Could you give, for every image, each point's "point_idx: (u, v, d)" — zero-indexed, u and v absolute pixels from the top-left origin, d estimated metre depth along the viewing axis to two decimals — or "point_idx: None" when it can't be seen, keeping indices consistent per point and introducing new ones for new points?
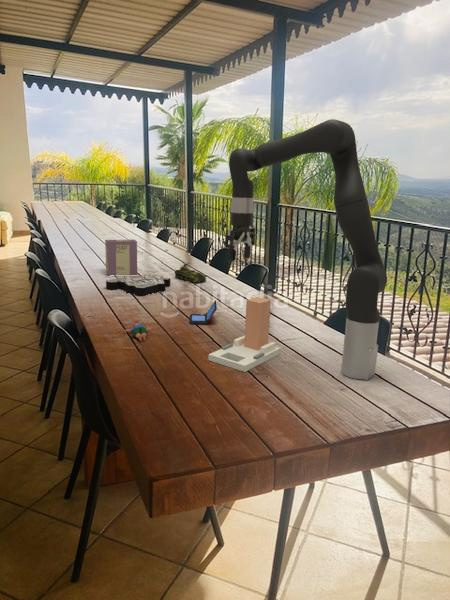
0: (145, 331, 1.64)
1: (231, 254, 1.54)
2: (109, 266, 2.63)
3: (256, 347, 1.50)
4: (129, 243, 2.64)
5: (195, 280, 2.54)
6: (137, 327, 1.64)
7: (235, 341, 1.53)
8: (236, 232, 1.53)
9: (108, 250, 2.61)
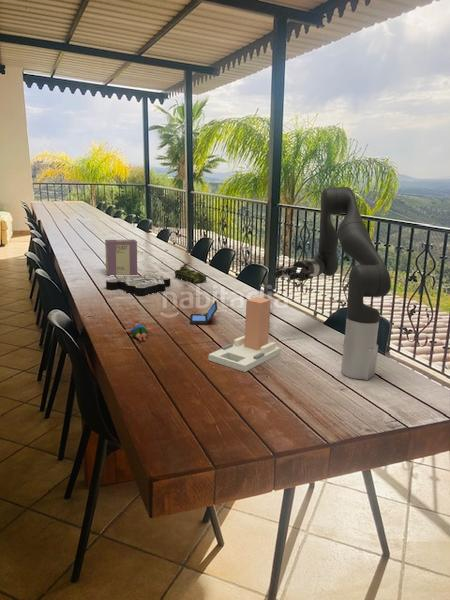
0: (145, 331, 1.64)
1: None
2: (109, 266, 2.63)
3: (256, 347, 1.50)
4: (129, 243, 2.64)
5: (195, 280, 2.55)
6: (137, 327, 1.64)
7: (235, 341, 1.53)
8: None
9: (108, 250, 2.61)
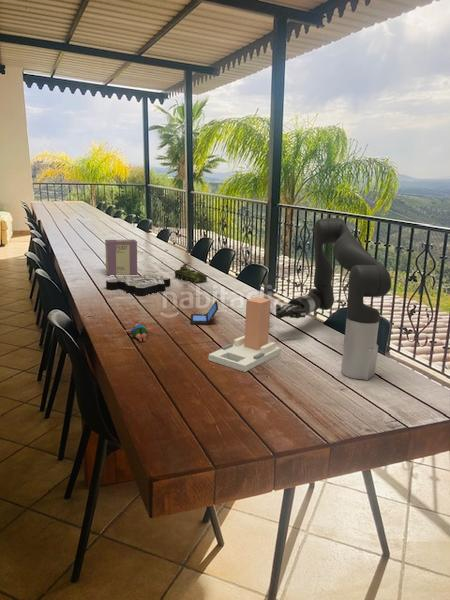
0: (145, 331, 1.64)
1: None
2: (109, 266, 2.63)
3: (256, 347, 1.50)
4: (129, 243, 2.64)
5: (196, 280, 2.55)
6: (137, 327, 1.64)
7: (235, 341, 1.53)
8: None
9: (108, 250, 2.61)
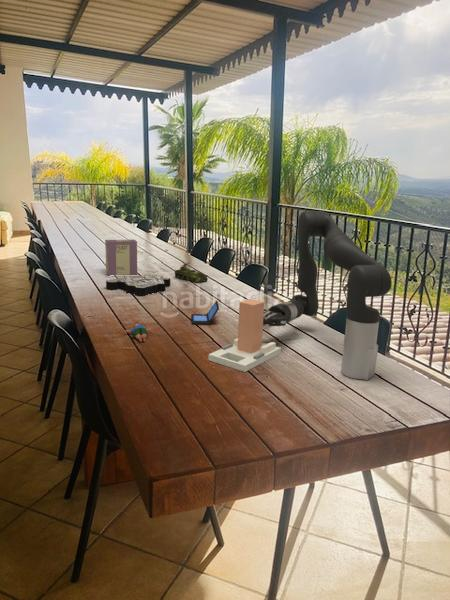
0: (145, 332, 1.63)
1: None
2: (109, 266, 2.63)
3: (249, 350, 1.48)
4: (129, 243, 2.64)
5: (197, 280, 2.56)
6: (137, 328, 1.63)
7: (235, 341, 1.53)
8: None
9: (108, 250, 2.61)
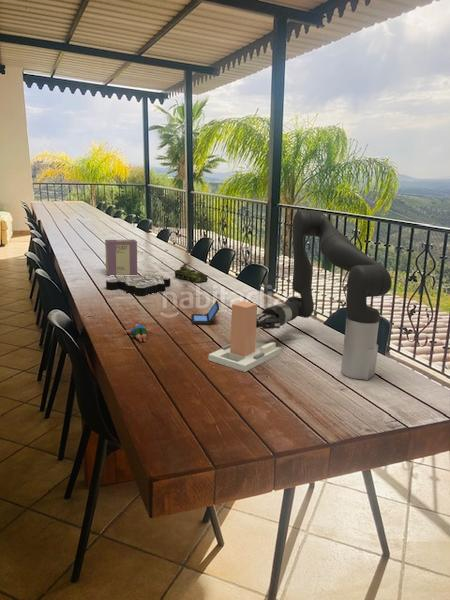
0: (145, 332, 1.63)
1: None
2: (109, 266, 2.63)
3: (242, 353, 1.45)
4: (129, 243, 2.64)
5: (198, 280, 2.56)
6: (137, 328, 1.63)
7: None
8: None
9: (108, 250, 2.61)
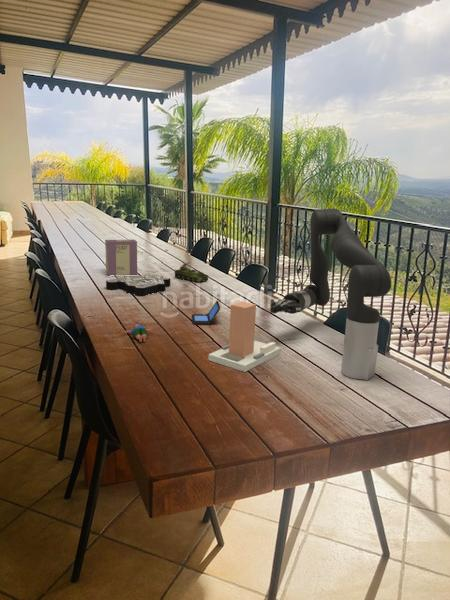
0: (145, 332, 1.63)
1: None
2: (109, 266, 2.63)
3: (241, 354, 1.44)
4: (129, 243, 2.64)
5: (199, 279, 2.56)
6: (137, 328, 1.63)
7: None
8: None
9: (108, 250, 2.61)
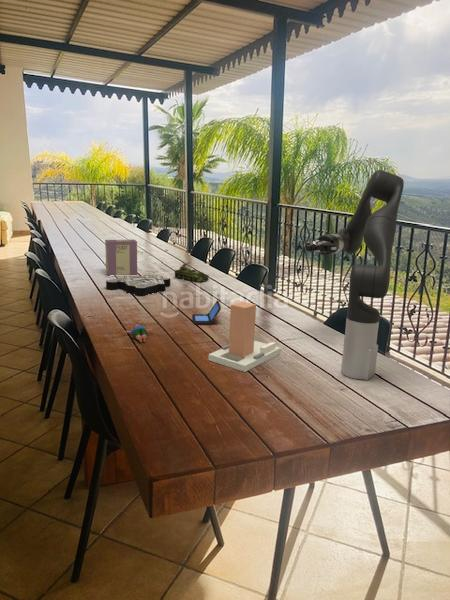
0: (145, 332, 1.63)
1: None
2: (109, 266, 2.63)
3: (241, 354, 1.44)
4: (129, 243, 2.64)
5: (199, 279, 2.57)
6: (137, 328, 1.63)
7: None
8: None
9: (108, 250, 2.61)
